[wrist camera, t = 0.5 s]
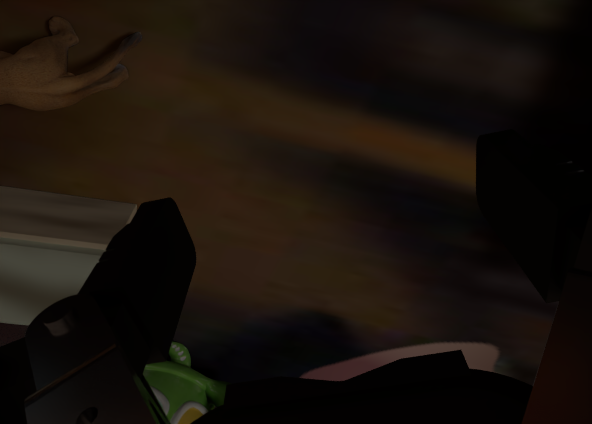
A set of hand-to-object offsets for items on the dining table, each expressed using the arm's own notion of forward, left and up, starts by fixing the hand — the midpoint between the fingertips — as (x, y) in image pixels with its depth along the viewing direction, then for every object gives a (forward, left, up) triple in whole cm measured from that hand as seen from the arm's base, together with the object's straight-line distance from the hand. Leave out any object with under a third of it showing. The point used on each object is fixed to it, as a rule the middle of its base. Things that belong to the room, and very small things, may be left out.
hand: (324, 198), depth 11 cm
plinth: (+19, -17, -18) cm, 31 cm away
